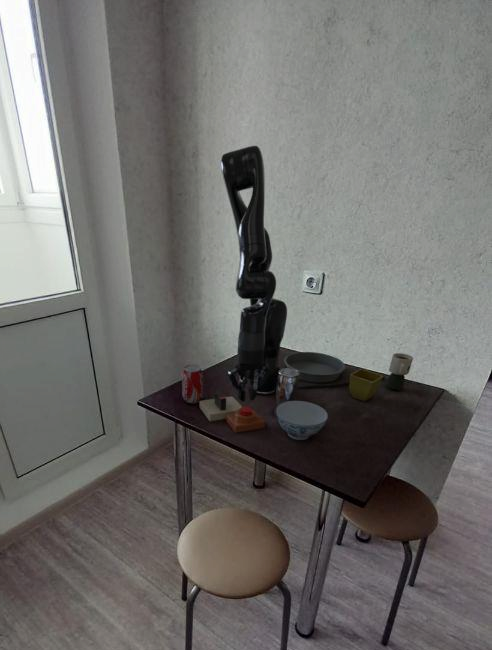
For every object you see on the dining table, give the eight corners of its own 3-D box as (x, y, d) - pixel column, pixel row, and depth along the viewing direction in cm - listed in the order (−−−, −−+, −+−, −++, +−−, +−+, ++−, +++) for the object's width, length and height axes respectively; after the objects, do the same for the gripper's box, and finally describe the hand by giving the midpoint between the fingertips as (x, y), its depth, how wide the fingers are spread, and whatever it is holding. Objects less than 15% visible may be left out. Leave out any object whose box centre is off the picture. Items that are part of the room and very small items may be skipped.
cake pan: (271, 372, 165) (272, 361, 162) (302, 357, 181) (303, 347, 179) (325, 390, 151) (327, 379, 149) (353, 372, 168) (355, 362, 165)
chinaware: (290, 452, 115) (294, 428, 111) (265, 426, 126) (267, 405, 122) (333, 442, 120) (338, 419, 116) (305, 419, 132) (308, 397, 128)
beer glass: (280, 420, 130) (286, 378, 122) (268, 411, 135) (273, 369, 127) (297, 416, 133) (304, 374, 125) (285, 407, 138) (291, 366, 130)
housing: (253, 415, 132) (254, 405, 130) (264, 427, 126) (265, 416, 124) (225, 420, 129) (226, 409, 127) (235, 432, 123) (236, 421, 120)
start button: (248, 410, 128) (248, 405, 127) (253, 415, 125) (253, 410, 124) (238, 412, 126) (238, 407, 125) (242, 417, 123) (243, 412, 123)
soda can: (199, 406, 137) (200, 373, 130) (179, 403, 138) (179, 370, 132) (204, 397, 143) (205, 365, 136) (185, 394, 144) (185, 363, 137)
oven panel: (231, 402, 140) (232, 395, 138) (245, 417, 131) (245, 409, 130) (199, 407, 136) (199, 400, 134) (210, 422, 127) (211, 415, 126)
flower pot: (378, 398, 147) (384, 375, 143) (367, 405, 142) (373, 382, 137) (355, 390, 152) (361, 368, 148) (344, 397, 147) (349, 374, 142)
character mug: (405, 395, 150) (415, 362, 144) (385, 392, 152) (394, 360, 145) (402, 384, 159) (411, 352, 153) (383, 381, 161) (391, 350, 154)
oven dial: (214, 403, 133) (214, 391, 131) (219, 402, 134) (219, 390, 132) (220, 410, 129) (221, 398, 127) (225, 410, 130) (226, 398, 127)
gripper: (266, 339, 119) (261, 391, 128) (223, 343, 115) (221, 397, 124) (279, 347, 113) (272, 402, 122) (233, 352, 109) (230, 408, 118)
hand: (246, 399), depth 123 cm, fingers closed
